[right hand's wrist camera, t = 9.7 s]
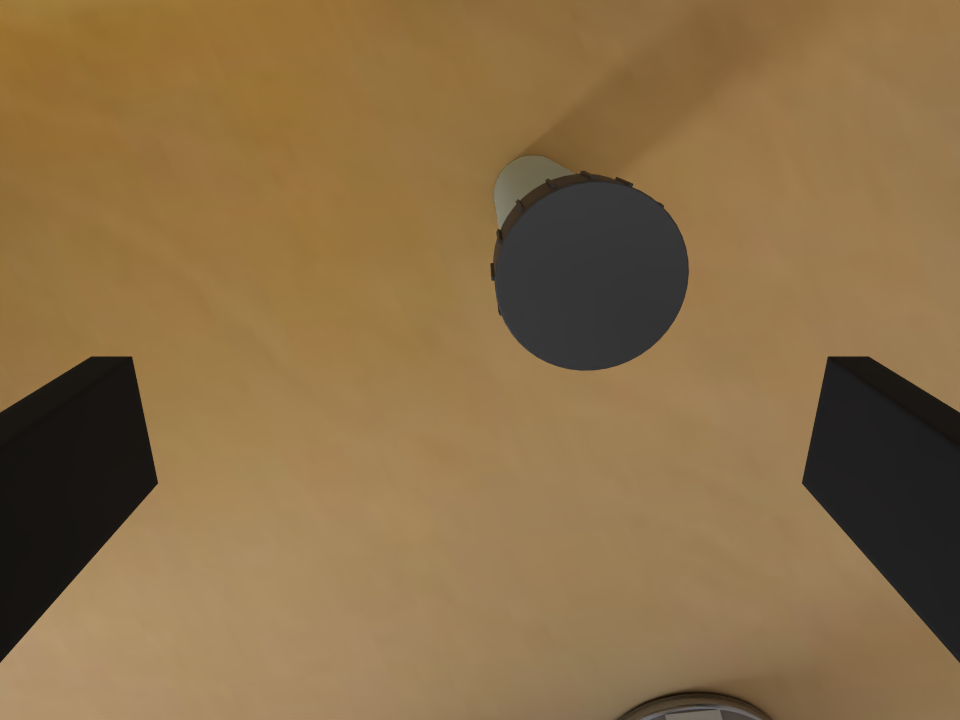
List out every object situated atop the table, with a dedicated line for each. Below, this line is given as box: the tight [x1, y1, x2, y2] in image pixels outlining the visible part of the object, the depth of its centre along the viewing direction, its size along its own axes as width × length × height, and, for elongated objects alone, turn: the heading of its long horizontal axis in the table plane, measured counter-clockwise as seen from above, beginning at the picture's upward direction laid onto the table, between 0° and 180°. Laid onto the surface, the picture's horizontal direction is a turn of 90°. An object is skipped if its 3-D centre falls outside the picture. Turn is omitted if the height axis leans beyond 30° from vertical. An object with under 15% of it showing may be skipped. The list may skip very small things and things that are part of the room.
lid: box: [491, 171, 689, 371], centre depth 17 cm, size 5×5×2 cm
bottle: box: [494, 155, 576, 230], centre depth 26 cm, size 4×4×19 cm
